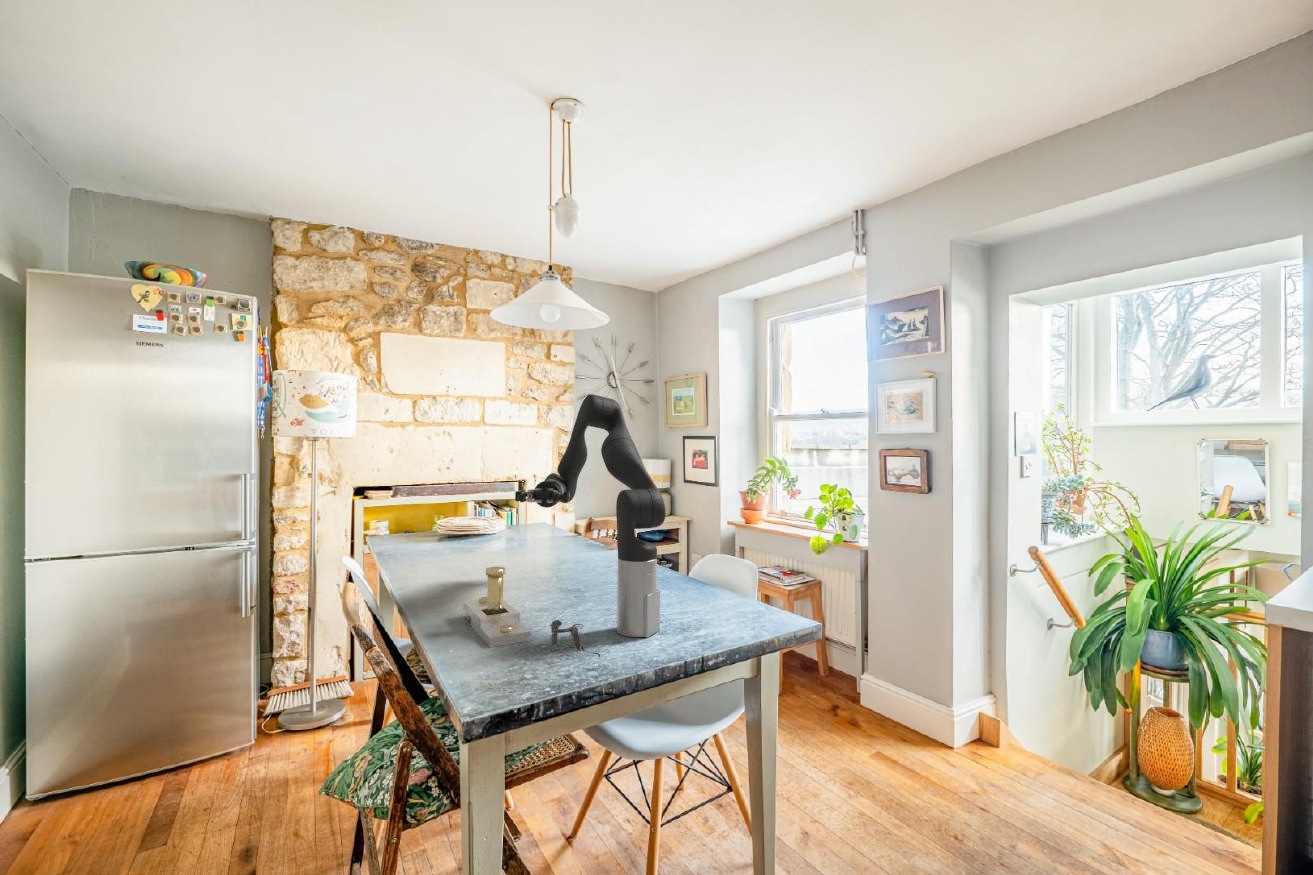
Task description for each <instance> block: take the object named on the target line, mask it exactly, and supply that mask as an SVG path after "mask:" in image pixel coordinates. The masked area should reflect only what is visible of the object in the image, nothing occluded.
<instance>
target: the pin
mask: <svg viewBox="0 0 1313 875" xmlns="http://www.w3.org/2000/svg"><path fill="white" fill-rule="evenodd" d="M505 574H506V568H505V566H490V567H487V568H486V567H485V575H486V576H487V582H486V585H487V588H486V589H487V590H486V594H487V595H486V597H487V616H488V615H495V614H501V613H503V600H504V575H505Z"/></svg>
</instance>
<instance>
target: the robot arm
mask: <svg viewBox="0 0 1313 875" xmlns="http://www.w3.org/2000/svg"><path fill="white" fill-rule="evenodd" d="M589 427H592V428H597V429H602V430H605V431H606V432H607V433H608V434H607V436H606V437H605V439H604V440H603V442H602V444H601V449H600V454H601V458H602V460H603V462H604V465H605V468H606V469H607V471H608V473H609V475H611V476H612V477H613V478H614V479H616V480H617V481H618V482H620V483H621V484H623V485H625V487H627V488H629V489H623V490H621V491H619V493H618V495H617V498H616V504H615V505H616V506H615V510H616V512H615V513H616V514H615V515H616V544H617V545H616V546H617V579H616V580H617V582H616V583H617V587H616V588H617V589H616V590H617V591H616V592H617V593H616V594H617V595H616V599H617V600H616V632H617V633H618V634H619V635H621V636H625V637H630V638H631V637H632V638H649V637H651V636H652V635H654V634H655V633H657V632H659V631H660V628H661V627H660V626H661V624H660V623H661V622H660V621H661V591H660V589H657V588H658V586H657V585H658V584H657V580H658V579H657V578H658V572H657V571H658V548H657V545H655V544H653V543H651V542H648V541H645V540H641V539H640V538H638V537H637V536H636V531H635V530H641V529H645V530H646V529H653V528H655V529H656V528H658V527H660V526H662V525H663V524H664V522H665V520H666V511H667V510H666V506H665V500H664V499H663V496H662V494H661V492H660V490H659V488H658V487H657V485H656V484H655V482H654V480H653V479H652V478H651V476H650V474H649V473H648V471H647V469H646V467H645V464H644V462H643V460H642V458H641V457H640V453H639V451H638V449H637V446H636V445H635V442H634V440H633V439H632V437H631V434H630V432H629V430H628V427H627V424H626V420H625V417H624V414H623V411H622V408H621V404H619V402H618V401H617V400H615V399H613V398H609V397H606V396H601V395H599V394H598V395H597V394H592V393H591V394H588V395H586V396H585V397H584V399H583V401H582V403H581V405H580V407H579V410H578V413H577V416H576V419H575V422H574V425H573V428H572V431H571V435H570V438H569V441H568V445H567V447H566V449H565V452H564V453H563V455H562V457H561V460H560V462H559V463H558V465H557V469H556V471H557V473H556V472H551V473H550V474H548V475H547V476H546V478H545V479H544V480H543V481H541V482H539V483H538V484H537V485H535V487H534V488H533V489H527V491H526V490H525V489H521V490H517V491H515V492H514V493H515V494H514V495H515V496H514V501H515V502H520V503H525V502H527V503H531V504H532V503H536V504H537V505H538V506H540V507H541V508H547V509H548V508H552V507H554V506H555V505H557V504H559V503H562V504H568V503H570V502H571V501H572V500H573V499H574V498H575V495H576V492H577V488H578V487H577V486H578V481H579V480H578V479H579V476H580V474H581V472H582V471H583V469H584V467H585V465H586V462H587V459H588V447H587V444H586V438H585V437H586V436H585V434H586V430H587V428H589Z"/></svg>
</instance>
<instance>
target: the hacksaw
mask: <svg viewBox="0 0 1313 875" xmlns="http://www.w3.org/2000/svg"><path fill="white" fill-rule="evenodd" d="M551 624H552V627H553V629H552V633H551V636H552V637H551V646H555V645H558V633H566V632H570V631H571V633H572V638H574V639H573V643H574V647H575V646H576V647H575V649H576V651H577V652H578V651H583V652H585V649H584V648H583V647H584V646H581V644H580V638H579V628H578V627H577V626H580V625H581V626H582V627H580V629H583V628H584V626H585V625H583V624H582V623H574V624H573V625H572V626H570V627H567V628H560V626H562V625H563V623H562V621H561V620H560V619H557V620H553V621H552V622H551ZM580 647H581V648H580ZM571 653H574V652H571ZM587 653H590V654H594V655H598V658H600V657H601V654H600V653H598V652H591V651H587Z"/></svg>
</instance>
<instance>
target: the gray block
mask: <svg viewBox="0 0 1313 875" xmlns="http://www.w3.org/2000/svg"><path fill="white" fill-rule="evenodd" d="M462 610H464V617H465V619H467V621H468V622H470V627H471V626H472V627H471V628H472V629H473V630H474V631H475V633H476V634H477V635H478V636H479V637H480V638H481V639H482V640H483V641H484V642H485V644H486V645H487V646H488V647H489V648H494V647H495V646H496V647H501V646H505V645H512V644H518V643H523V642H528V641H529V642H530V641H531V630H530V629H529V628H528V627H527V626H525V625H524V624H523V623H522V622H521V620H520V619H521V618H520V617H521V613H520V612H519V611H517V610H516V609H515V608H514V607H513V606H512V605H510V604H509V603H508V602H507V601H505V600H504V599H503V613H501V614H495V615H488V616H487V596H481V597H479V598H475V599H469V600H463V602H462ZM496 647H495V648H496Z"/></svg>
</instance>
